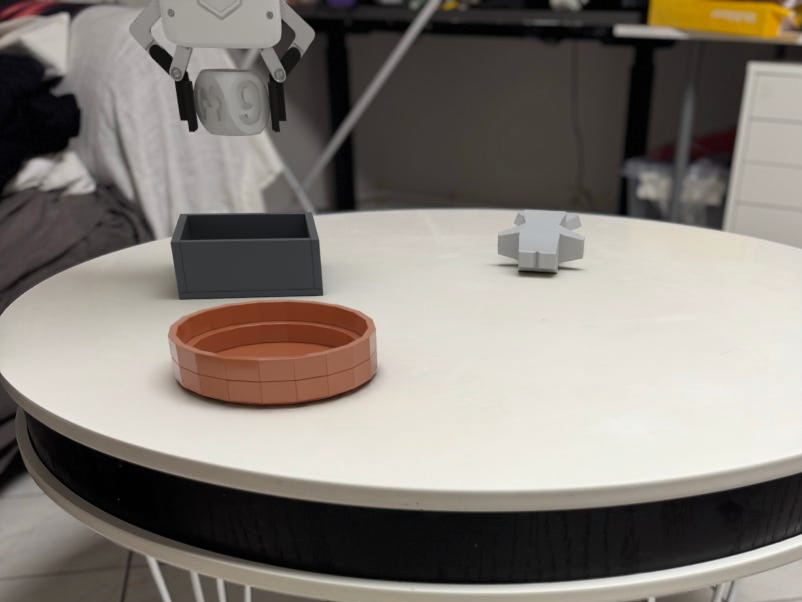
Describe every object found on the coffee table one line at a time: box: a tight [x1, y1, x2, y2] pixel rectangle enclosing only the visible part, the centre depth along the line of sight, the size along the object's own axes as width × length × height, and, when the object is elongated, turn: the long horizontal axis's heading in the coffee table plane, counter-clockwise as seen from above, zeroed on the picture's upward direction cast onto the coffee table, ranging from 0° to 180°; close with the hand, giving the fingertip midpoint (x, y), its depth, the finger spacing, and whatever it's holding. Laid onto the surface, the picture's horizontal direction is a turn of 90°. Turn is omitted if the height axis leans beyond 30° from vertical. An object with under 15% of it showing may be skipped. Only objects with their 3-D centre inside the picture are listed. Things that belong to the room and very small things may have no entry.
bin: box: [170, 211, 324, 300], centre depth 92 cm, size 14×14×5 cm
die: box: [193, 68, 271, 137], centre depth 84 cm, size 5×5×5 cm
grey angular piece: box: [497, 209, 586, 274], centre depth 101 cm, size 10×5×15 cm
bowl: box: [167, 299, 379, 406], centre depth 69 cm, size 15×15×4 cm
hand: (235, 128), depth 85 cm, fingers closed on die, 7 cm apart
